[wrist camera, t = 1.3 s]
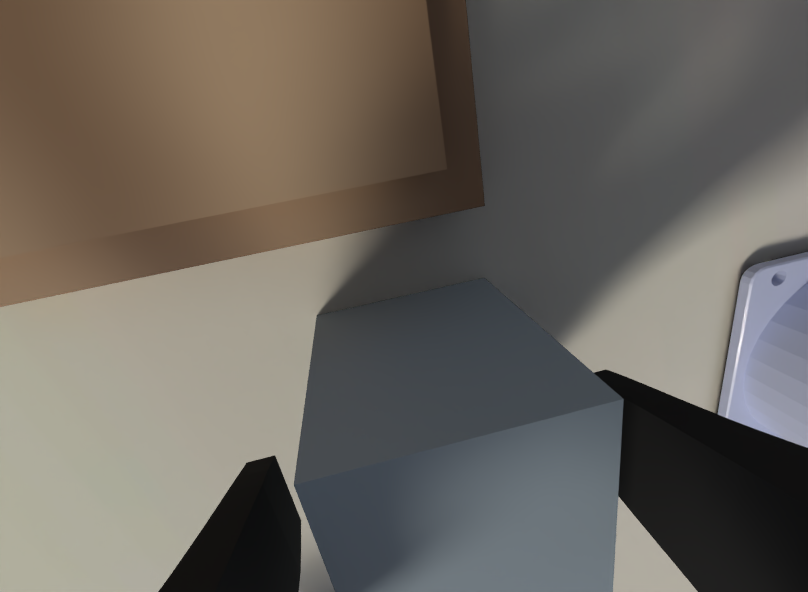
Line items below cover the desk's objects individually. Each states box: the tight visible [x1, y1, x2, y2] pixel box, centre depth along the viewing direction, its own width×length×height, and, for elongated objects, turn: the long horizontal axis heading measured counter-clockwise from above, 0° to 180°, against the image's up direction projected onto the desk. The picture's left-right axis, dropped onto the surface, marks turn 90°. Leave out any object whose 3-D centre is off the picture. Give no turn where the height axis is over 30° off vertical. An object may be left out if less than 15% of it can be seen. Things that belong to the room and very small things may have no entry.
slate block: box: [294, 278, 624, 592], centre depth 9 cm, size 5×5×6 cm
